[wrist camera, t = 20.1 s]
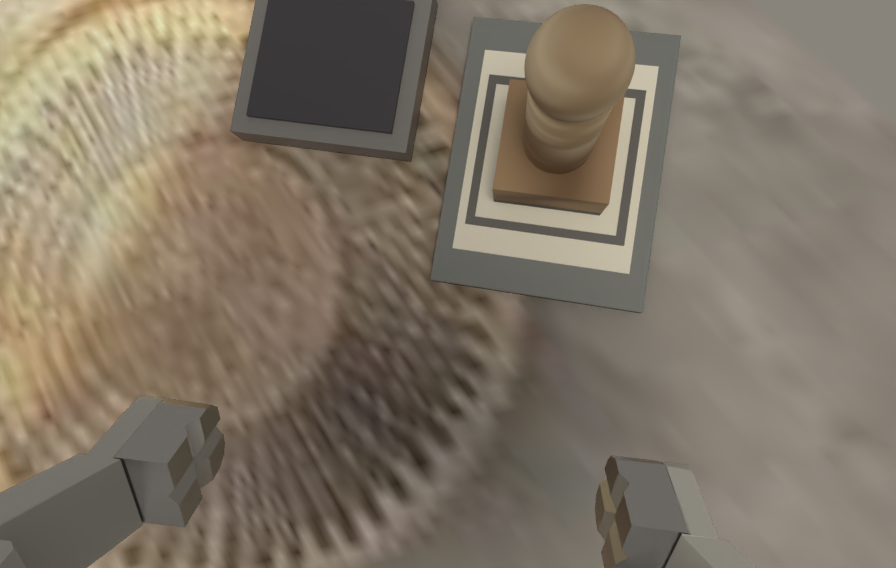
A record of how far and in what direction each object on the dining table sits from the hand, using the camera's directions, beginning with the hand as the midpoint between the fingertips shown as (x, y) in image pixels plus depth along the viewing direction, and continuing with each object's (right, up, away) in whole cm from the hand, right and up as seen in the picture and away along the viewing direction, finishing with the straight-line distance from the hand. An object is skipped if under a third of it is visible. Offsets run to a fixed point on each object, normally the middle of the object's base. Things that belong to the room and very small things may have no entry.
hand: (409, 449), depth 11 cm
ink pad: (-6, +17, +22) cm, 28 cm away
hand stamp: (+7, +11, +19) cm, 23 cm away
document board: (+7, +11, +20) cm, 24 cm away
